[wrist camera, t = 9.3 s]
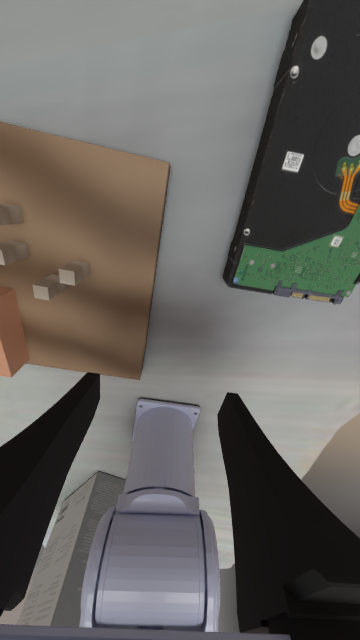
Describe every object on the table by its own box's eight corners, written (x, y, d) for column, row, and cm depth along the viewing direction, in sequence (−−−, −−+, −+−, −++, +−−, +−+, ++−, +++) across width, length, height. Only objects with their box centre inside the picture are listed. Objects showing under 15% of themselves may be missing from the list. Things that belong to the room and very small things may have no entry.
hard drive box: (98, 510, 43) (41, 719, 25) (63, 500, 40) (-26, 722, 23) (137, 482, 37) (97, 733, 19) (98, 469, 34) (13, 739, 17)
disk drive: (284, 22, 11) (220, 279, 18) (313, -30, 9) (226, 289, 16) (453, 61, 12) (328, 295, 19) (524, 23, 9) (350, 307, 17)
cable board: (142, 370, 23) (135, 399, 20) (-48, 341, 21) (-93, 368, 18) (170, 166, 14) (166, 154, 10) (-159, 87, 12) (-295, 40, 9)
